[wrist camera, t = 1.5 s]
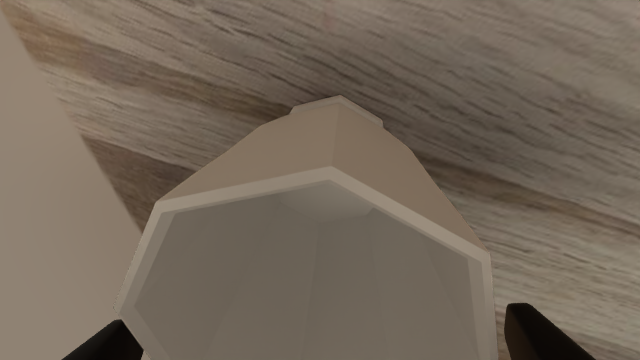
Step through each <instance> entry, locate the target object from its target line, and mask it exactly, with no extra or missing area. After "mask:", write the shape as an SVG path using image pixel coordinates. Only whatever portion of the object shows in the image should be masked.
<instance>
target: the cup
mask: <svg viewBox="0 0 640 360" xmlns="http://www.w3.org/2000/svg"><path fill="white" fill-rule="evenodd" d="M113 308H114V310H115V311H116V313H117V314H118V315H119V317H120V318H121V319H122V321H123V322H124V324H125V325H126V326H127V328H128V329H129V330H130V332H131V333H132V335H133V336H134V337H135V339H136V340H137V341H138V343H139V344H140V345H141V347H142V348H143V350H144V351H145V352H146V354H147V355H148V356H149V358H150V359H151V360H498V347H497V334H496V321H495V308H494V294H493V281H492V268H491V255H490V253H489V251H488V250H487V249H486V247H485V246H484V245H483V243H482V242H481V241H480V239H479V238H478V237H477V236H476V234H475V233H474V232H473V230H472V229H471V228H470V226H469V225H468V224H467V222H466V221H465V220H464V218H463V217H462V216H461V214H460V213H459V212H458V211H457V209H456V208H455V207H454V206H453V205H452V203H451V202H450V201H449V200H448V198H447V197H446V196H445V195H444V193H443V192H442V191H441V190H440V189H439V187H438V186H437V185H436V184H435V182H434V181H433V179H432V178H431V177H430V175H429V174H428V173H427V171H426V170H425V169H424V167H423V166H422V165H421V163H420V162H419V160H418V159H417V158H416V156H415V155H414V154H413V152H412V151H411V150H410V148H409V147H407V146H406V145H405V144H403V143H402V142H401V141H400V140H398V139H397V138H396V137H394V136H393V135H392V134H391V133H389V132H388V131H387V130H385V129H384V127H383V122H382V119H380V118H379V117H377V116H375V115H374V114H372V113H370V112H368V111H367V110H365V109H363V108H362V107H360V106H358V105H357V104H355V103H353V102H352V101H350V100H348V99H347V98H345V97H343V96H342V95H338V96H334V97H330V98H326V99H321V100H317V101H313V102H309V103H305V104H301V105H297V106H294V107H293V108H292V110H291V112H290V114H289V115H286V116H283V117H281V118H278V119H276V120H273V121H271V122H268V123H266V124H263V125H260V126H259V127H258V128H256V129H255V130H254V131H252V132H251V133H250V134H248V135H247V136H246V137H244V138H243V139H242V140H240V141H239V142H238V143H237V144H235V145H234V146H233V147H231V148H230V149H229V150H227V151H226V152H225V153H223V154H222V155H220V156H219V157H217V158H216V159H215V160H213V161H212V162H210V163H209V164H207V165H206V166H204V167H203V168H201V169H200V170H199V171H197V172H196V173H194V174H193V175H192V176H190V177H189V178H188V179H186V180H185V181H183V182H182V183H181V184H179V185H178V186H177V187H175V188H174V189H173V190H171V191H170V192H169V193H167V194H166V195H165V196H163V197H162V198H161V199H159V200H158V201H156V203H155V205H154V208H153V210H152V213H151V215H150V218H149V220H148V222H147V225H146V227H145V230H144V232H143V235H142V237H141V240H140V242H139V245H138V247H137V250H136V252H135V255H134V257H133V260H132V262H131V264H130V267H129V269H128V272H127V274H126V277H125V279H124V282H123V284H122V287H121V289H120V292H119V294H118V297H117V299H116V302H115V304H114V306H113Z"/></svg>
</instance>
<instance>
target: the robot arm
mask: <svg viewBox="0 0 640 360" xmlns="http://www.w3.org/2000/svg"><path fill="white" fill-rule="evenodd" d="M504 334H505V339H506V343H507V346H508V350H509V353H510V357H511V360H596V359H594V358H593V357H592V356H591V355H590V354H588V353H587V352H586V351H585V350H584V349H583V348H581V347H580V346H579V345H578V344H577V343H575V342H574V341H573V340H572V339H571V338H569V337H568V336H567V335H566V334H565V333H564V332H562V331H561V330H560V329H559V328H558V327H556V326H555V325H554V324H553V323H552V322H551V321H549V320H548V319H547V318H546V317H545V316H543V315H542V314H541V313H540V312H539V311H537V310H536V309H535V308H534V307H533V306H531V305H530V304H528V303H511V304H508V306H507V308H506V317H505V326H504ZM143 351H144V350H143V348H142V347H141V345H140V344H139V343H138V341H137V340H136V339H135V337H134V336H133V335H132V333H131V332H130V330H129V329H128V328H127V326H126V325H125V324H124V322H123V321H122V319H120V320H114V321H113V322H111V323H110V324H108V325H107V326H106V327H104V328H103V329H102V330H100V331H99V332H98V333H96V334H95V335H94V336H92V337H91V338H90V339H89V340H87V341H86V342H85V343H83V344H82V345H80V346H79V347H78V348H77V349H75V350H74V351H73V352H71V353H70V354H69V355H67V356H66V357H65V358H63V359H62V360H141V357H142V354H143Z"/></svg>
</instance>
